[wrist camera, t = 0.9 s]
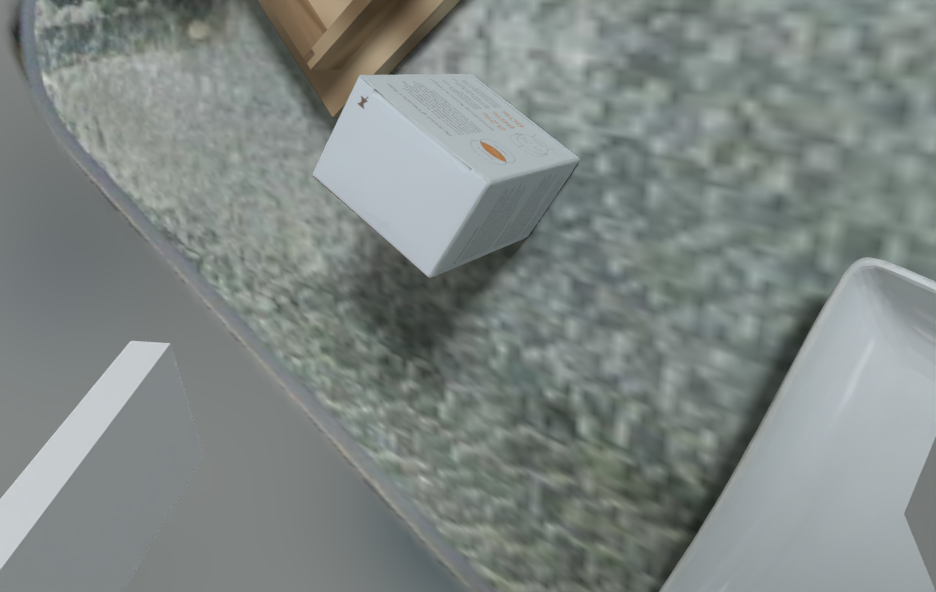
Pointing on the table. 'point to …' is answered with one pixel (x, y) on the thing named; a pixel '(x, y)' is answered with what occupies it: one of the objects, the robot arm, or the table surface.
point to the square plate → (833, 454)
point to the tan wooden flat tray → (351, 38)
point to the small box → (441, 167)
